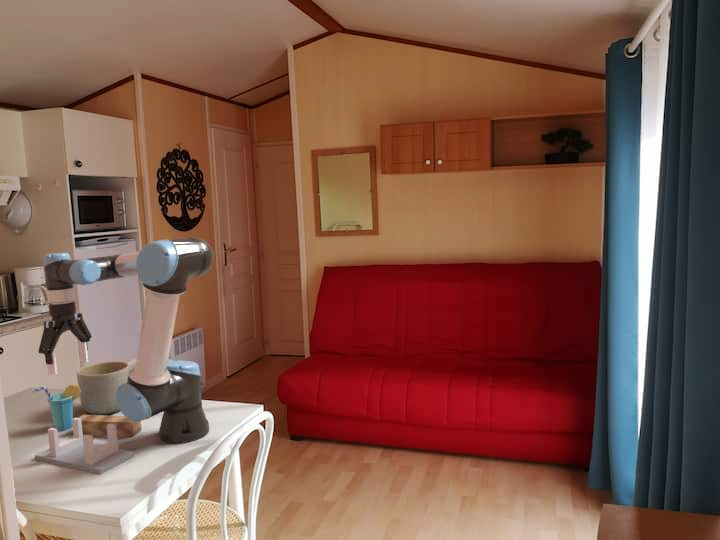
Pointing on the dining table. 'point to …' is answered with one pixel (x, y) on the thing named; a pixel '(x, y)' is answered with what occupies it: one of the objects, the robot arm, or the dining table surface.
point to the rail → (99, 423)
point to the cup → (62, 406)
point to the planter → (101, 386)
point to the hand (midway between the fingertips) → (69, 367)
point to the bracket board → (84, 450)
